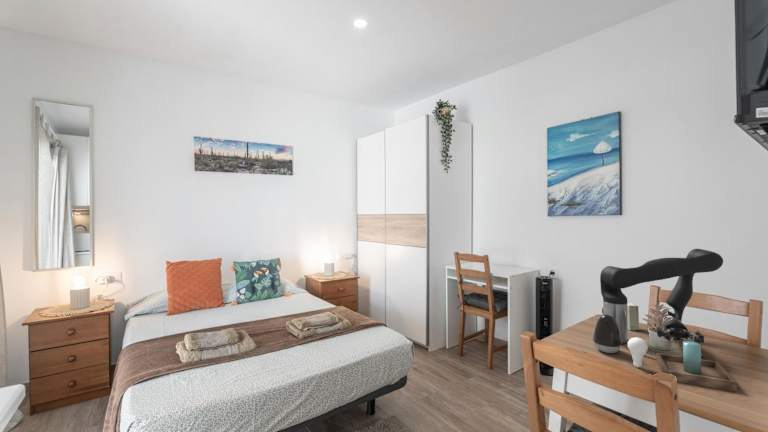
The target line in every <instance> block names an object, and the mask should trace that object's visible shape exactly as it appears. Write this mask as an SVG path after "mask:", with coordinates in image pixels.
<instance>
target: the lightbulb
mask: <svg viewBox="0 0 768 432" xmlns="http://www.w3.org/2000/svg"><path fill="white" fill-rule="evenodd" d="M627 348H628V350H629V351H630V353H631V357H632V358H631V359H632V360H633V362H632V364H633V366H635V367H636V368H638V369H639V368H642V366H643V361H644V356H645V354H646V353H647V352H648V349H649V347H648V343H646V341H645V340H644V339H642V338H640V337H631V338H630V339H629V340H628V342H627Z"/></svg>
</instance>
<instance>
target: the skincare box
mask: <svg viewBox="0 0 768 432" xmlns="http://www.w3.org/2000/svg"><path fill="white" fill-rule="evenodd" d="M627 312H628V331H636V330H639V331H640V322H639V321H640V318H639V316H640V315H639V305H636V304H634V303H633V302H627Z"/></svg>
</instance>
